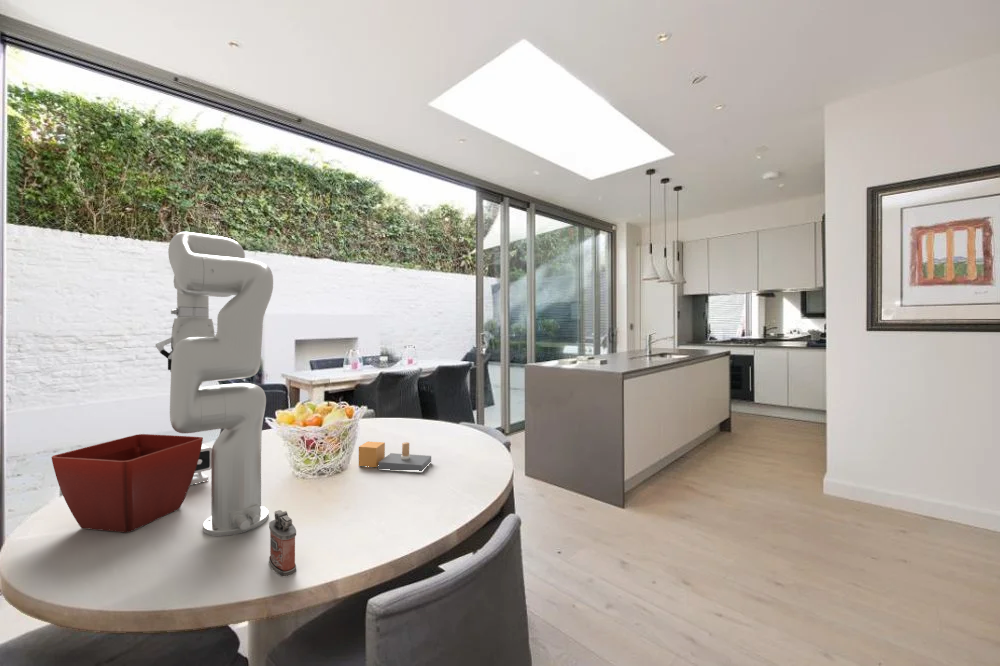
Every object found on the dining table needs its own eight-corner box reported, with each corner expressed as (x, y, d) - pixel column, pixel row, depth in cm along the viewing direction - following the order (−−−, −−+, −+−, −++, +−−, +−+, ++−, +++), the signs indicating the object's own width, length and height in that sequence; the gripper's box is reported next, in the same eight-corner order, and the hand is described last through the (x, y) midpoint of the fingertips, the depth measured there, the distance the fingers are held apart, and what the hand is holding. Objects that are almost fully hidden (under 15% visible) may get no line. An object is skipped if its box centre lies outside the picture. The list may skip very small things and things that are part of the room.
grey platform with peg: (431, 463, 135) (431, 440, 134) (421, 473, 126) (421, 448, 126) (390, 460, 137) (391, 438, 137) (378, 470, 128) (378, 446, 128)
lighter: (265, 561, 79) (265, 509, 79) (283, 554, 81) (284, 503, 81) (280, 579, 73) (280, 523, 73) (300, 571, 76) (300, 517, 76)
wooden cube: (384, 461, 136) (384, 442, 136) (376, 468, 130) (376, 447, 130) (367, 460, 137) (367, 441, 136) (358, 466, 131) (358, 446, 131)
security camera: (185, 489, 112) (185, 452, 112) (177, 482, 116) (176, 447, 116) (212, 482, 117) (212, 447, 117) (203, 476, 121) (203, 442, 121)
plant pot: (139, 497, 106) (139, 432, 106) (205, 503, 103) (205, 436, 103) (48, 535, 87) (47, 456, 87) (126, 543, 84) (126, 461, 84)
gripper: (158, 312, 113) (158, 374, 114) (230, 314, 126) (230, 370, 127) (153, 313, 118) (153, 372, 119) (223, 314, 131) (223, 368, 132)
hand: (193, 371), depth 123 cm, fingers open, 9 cm apart
